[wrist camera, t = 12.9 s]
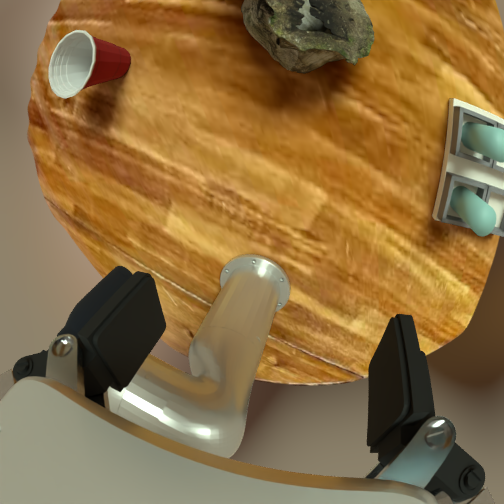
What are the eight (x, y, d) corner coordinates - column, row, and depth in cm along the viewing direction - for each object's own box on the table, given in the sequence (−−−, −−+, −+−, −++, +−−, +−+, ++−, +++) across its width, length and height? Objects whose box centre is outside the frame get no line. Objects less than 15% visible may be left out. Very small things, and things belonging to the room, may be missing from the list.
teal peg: (482, 126, 23) (513, 134, 16) (479, 153, 25) (509, 166, 18) (461, 118, 24) (490, 123, 17) (458, 145, 26) (486, 157, 19)
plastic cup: (125, 102, 37) (72, 110, 27) (91, 79, 35) (41, 85, 25) (154, 47, 31) (102, 39, 21) (116, 29, 30) (65, 23, 20)
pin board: (495, 231, 30) (522, 260, 22) (432, 216, 33) (454, 246, 26) (516, 127, 21) (552, 138, 13) (449, 98, 24) (482, 98, 16)
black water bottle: (118, 260, 55) (26, 351, 30) (139, 279, 56) (52, 378, 31) (111, 275, 59) (30, 361, 34) (131, 293, 60) (53, 384, 35)
